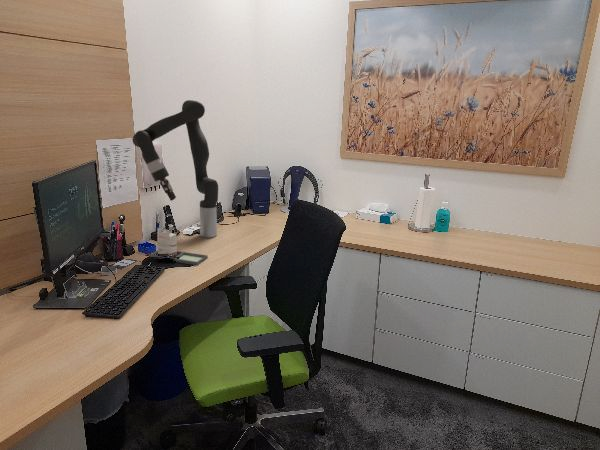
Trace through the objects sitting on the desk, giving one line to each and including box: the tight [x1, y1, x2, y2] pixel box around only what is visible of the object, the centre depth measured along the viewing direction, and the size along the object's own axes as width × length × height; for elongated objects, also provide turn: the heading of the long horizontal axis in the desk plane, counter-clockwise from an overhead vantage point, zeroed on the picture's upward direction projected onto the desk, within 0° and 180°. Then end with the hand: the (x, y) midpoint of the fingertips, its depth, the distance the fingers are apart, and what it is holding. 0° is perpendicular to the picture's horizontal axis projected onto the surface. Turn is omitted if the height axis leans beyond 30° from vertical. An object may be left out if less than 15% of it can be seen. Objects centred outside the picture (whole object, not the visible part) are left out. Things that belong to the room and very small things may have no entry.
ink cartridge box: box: [156, 227, 178, 255], centre depth 213 cm, size 9×5×15 cm, turn 62°
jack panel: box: [149, 250, 209, 266], centre depth 214 cm, size 10×26×2 cm, turn 74°
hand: (173, 199), depth 217 cm, fingers open, 8 cm apart
